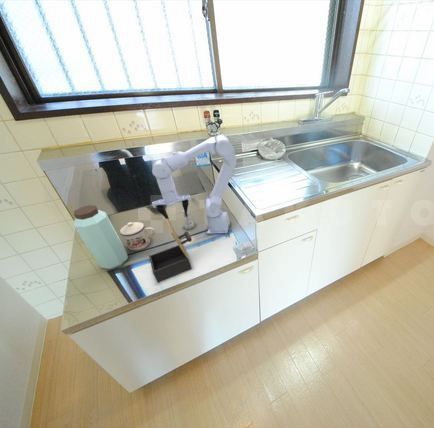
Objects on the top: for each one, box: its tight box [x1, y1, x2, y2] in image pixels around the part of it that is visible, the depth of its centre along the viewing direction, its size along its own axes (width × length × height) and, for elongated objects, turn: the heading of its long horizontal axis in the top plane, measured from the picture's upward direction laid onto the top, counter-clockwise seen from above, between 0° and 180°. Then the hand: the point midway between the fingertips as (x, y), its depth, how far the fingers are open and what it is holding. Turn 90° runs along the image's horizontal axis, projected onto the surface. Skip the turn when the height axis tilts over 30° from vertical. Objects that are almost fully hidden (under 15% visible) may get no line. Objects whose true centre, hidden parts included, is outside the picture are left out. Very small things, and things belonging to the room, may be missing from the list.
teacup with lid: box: [119, 221, 156, 251], centre depth 100 cm, size 12×9×12 cm
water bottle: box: [73, 204, 129, 270], centre depth 87 cm, size 10×10×25 cm
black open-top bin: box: [148, 244, 193, 284], centre depth 90 cm, size 12×10×6 cm
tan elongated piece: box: [164, 218, 193, 259], centre depth 87 cm, size 13×10×5 cm
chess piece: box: [181, 209, 195, 230], centre depth 111 cm, size 4×4×10 cm
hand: (177, 217), depth 102 cm, fingers open, 7 cm apart
